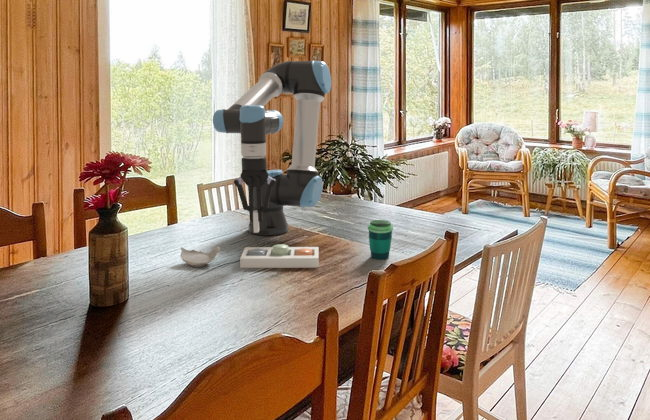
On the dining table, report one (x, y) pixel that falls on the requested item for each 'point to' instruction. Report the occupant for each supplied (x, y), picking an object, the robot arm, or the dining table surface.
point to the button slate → (257, 252)
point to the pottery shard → (198, 257)
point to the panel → (280, 259)
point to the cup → (380, 238)
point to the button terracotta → (304, 252)
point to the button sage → (280, 250)
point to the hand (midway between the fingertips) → (256, 231)
